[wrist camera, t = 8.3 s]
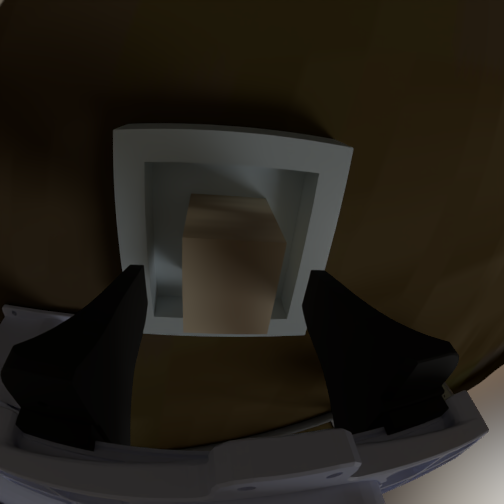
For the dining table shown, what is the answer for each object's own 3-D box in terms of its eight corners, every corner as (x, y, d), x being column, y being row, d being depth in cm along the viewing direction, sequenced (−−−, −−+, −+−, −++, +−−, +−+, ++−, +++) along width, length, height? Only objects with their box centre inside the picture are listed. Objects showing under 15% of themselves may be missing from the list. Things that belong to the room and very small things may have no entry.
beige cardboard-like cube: (188, 272, 18) (183, 332, 13) (191, 193, 15) (182, 237, 11) (253, 275, 18) (266, 334, 14) (265, 198, 16) (286, 242, 12)
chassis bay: (139, 306, 19) (133, 332, 17) (128, 123, 13) (113, 129, 11) (295, 310, 21) (304, 334, 19) (334, 139, 15) (353, 147, 13)
